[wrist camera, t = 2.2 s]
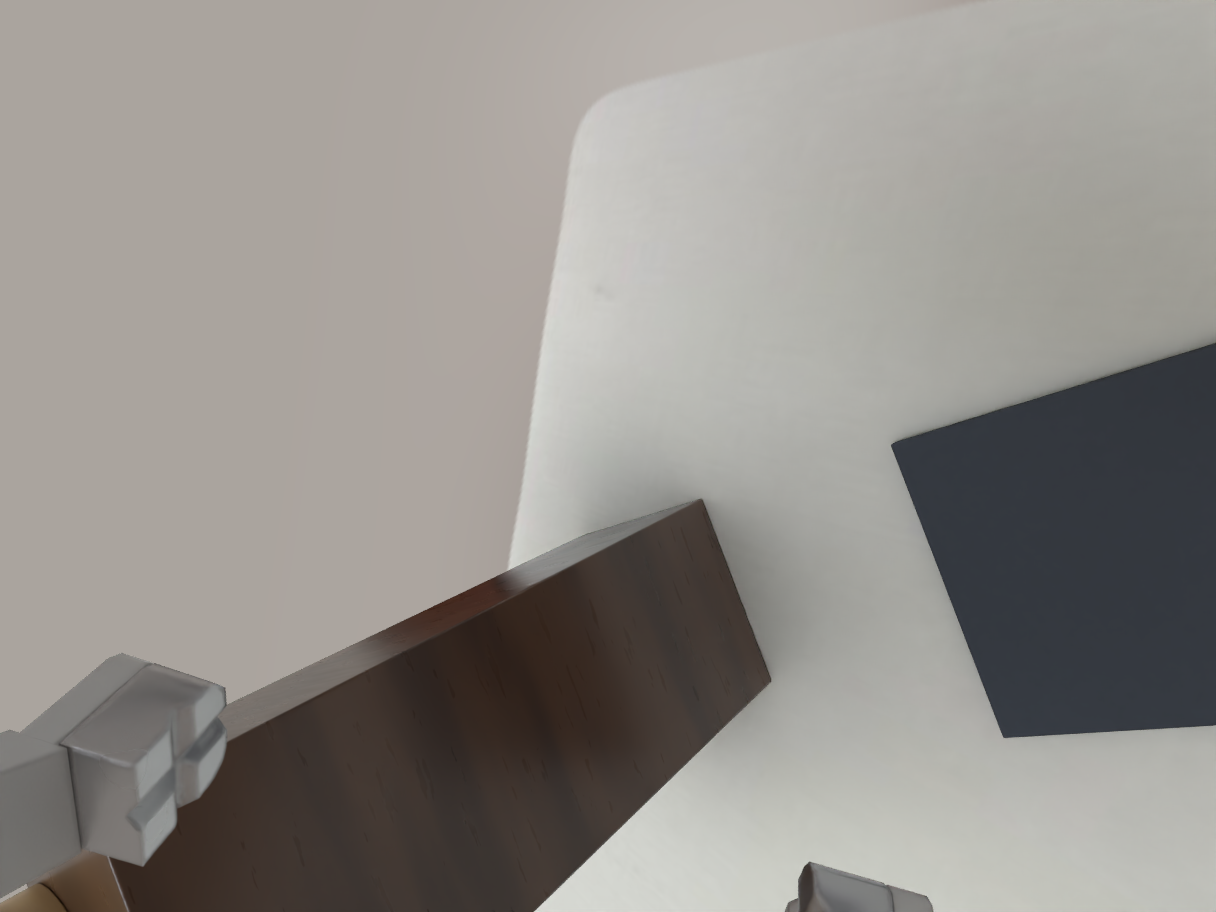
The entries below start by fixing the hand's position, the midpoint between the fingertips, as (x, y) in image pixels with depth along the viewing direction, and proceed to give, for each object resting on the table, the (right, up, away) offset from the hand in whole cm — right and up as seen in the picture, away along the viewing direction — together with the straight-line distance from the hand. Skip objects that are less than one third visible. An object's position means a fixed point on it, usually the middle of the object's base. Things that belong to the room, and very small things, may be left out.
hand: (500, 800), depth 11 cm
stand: (+5, -3, +29) cm, 30 cm away
